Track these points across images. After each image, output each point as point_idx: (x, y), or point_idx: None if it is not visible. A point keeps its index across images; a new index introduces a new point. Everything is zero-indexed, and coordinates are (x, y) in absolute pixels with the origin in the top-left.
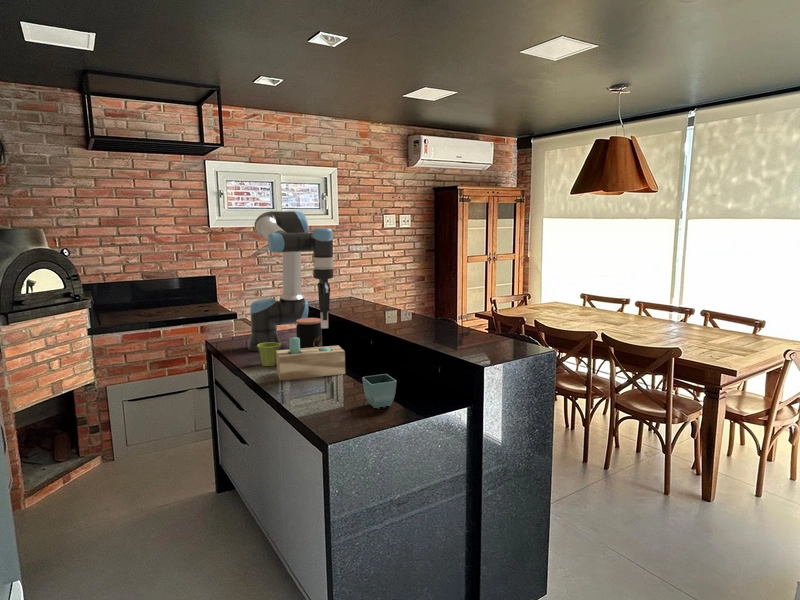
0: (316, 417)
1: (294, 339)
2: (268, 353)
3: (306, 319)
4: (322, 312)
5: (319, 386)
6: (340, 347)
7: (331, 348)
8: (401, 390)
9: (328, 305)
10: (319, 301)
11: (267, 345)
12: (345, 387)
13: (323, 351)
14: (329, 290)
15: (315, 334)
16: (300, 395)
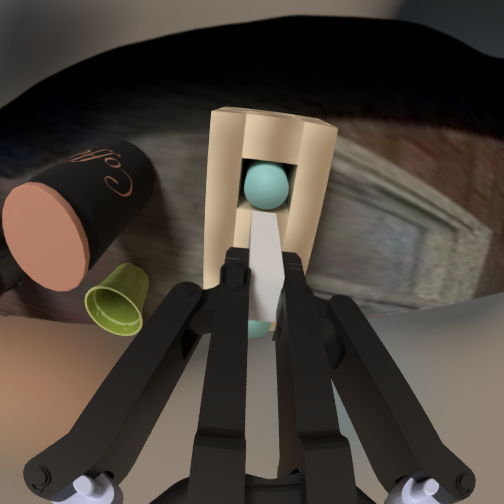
0: (489, 279)
1: (268, 328)
2: (142, 307)
3: (29, 248)
4: (275, 312)
5: (384, 227)
6: (256, 115)
7: (255, 156)
8: (496, 91)
9: (374, 342)
10: (179, 375)
11: (92, 303)
12: (427, 178)
13: (292, 203)
14: (463, 471)
15: (108, 201)
16: (407, 277)
